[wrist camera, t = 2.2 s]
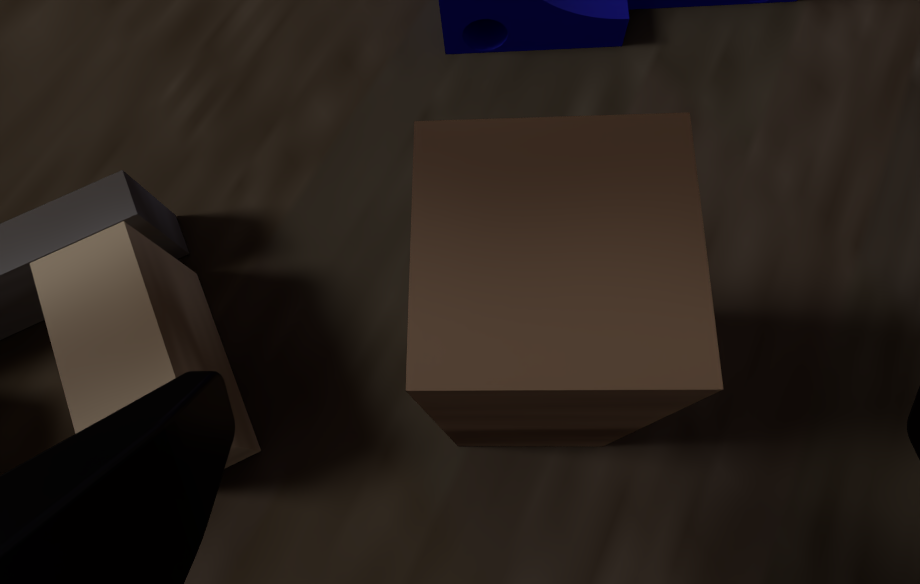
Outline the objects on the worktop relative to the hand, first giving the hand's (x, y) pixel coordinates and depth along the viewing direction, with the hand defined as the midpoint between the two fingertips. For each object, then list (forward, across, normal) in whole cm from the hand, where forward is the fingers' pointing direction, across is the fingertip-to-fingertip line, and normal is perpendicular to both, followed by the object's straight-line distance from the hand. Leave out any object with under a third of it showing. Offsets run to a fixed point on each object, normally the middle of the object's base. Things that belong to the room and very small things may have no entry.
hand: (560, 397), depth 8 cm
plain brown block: (+8, 0, +6) cm, 10 cm away
